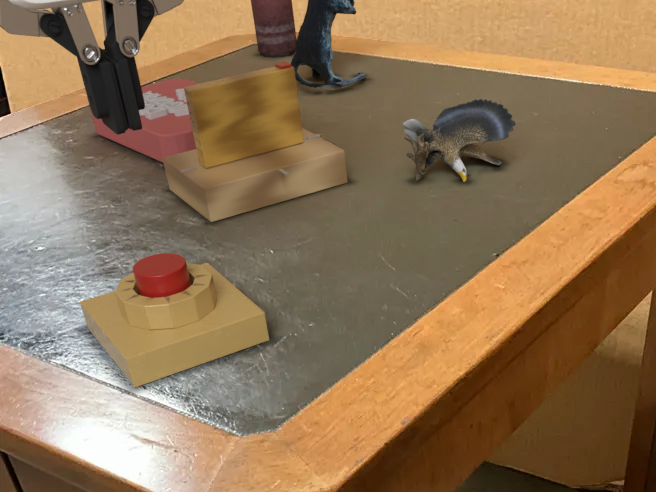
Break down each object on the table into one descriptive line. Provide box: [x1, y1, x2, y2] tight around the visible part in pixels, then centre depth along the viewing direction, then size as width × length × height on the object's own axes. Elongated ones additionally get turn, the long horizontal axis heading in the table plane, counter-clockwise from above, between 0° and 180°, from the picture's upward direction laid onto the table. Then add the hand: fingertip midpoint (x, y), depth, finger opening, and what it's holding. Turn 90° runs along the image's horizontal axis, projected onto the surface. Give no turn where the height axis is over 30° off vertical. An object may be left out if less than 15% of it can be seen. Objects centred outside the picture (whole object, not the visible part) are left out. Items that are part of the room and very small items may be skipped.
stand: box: [162, 127, 349, 223], centre depth 84 cm, size 14×14×3 cm
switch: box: [79, 261, 270, 388], centre depth 63 cm, size 10×10×4 cm
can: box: [250, 0, 297, 58], centre depth 116 cm, size 5×5×12 cm
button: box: [132, 252, 191, 298], centre depth 61 cm, size 4×4×2 cm
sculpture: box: [290, 0, 367, 90], centre depth 103 cm, size 8×11×15 cm
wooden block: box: [184, 60, 304, 168], centre depth 81 cm, size 10×2×7 cm, turn 123°
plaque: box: [88, 78, 200, 163], centre depth 96 cm, size 18×4×15 cm
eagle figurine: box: [402, 98, 516, 183], centre depth 82 cm, size 8×7×9 cm
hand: (122, 125), depth 56 cm, fingers closed
